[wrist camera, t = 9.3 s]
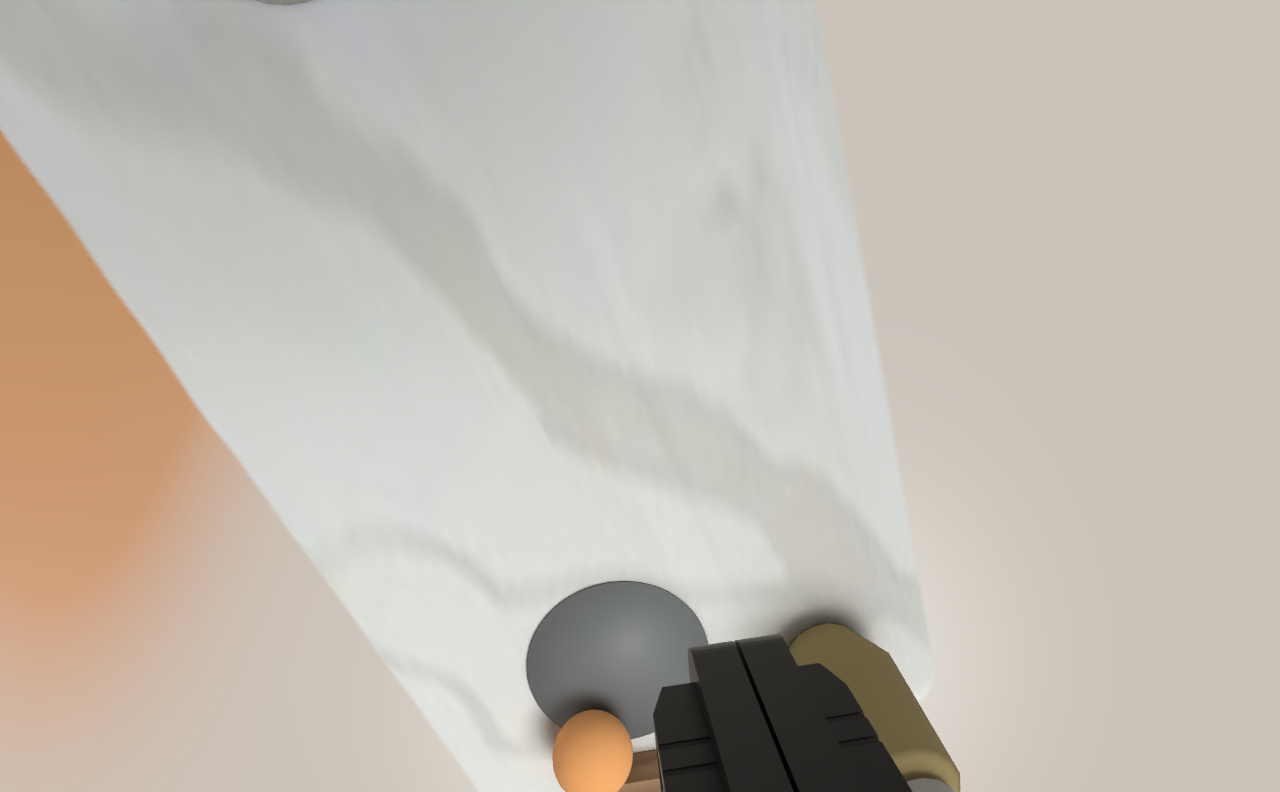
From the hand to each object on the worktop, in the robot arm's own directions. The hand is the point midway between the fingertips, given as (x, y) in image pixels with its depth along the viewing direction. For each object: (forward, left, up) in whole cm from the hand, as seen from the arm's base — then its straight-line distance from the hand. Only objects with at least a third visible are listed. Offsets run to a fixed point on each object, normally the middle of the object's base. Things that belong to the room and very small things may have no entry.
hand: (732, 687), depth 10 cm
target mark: (+22, -2, -29) cm, 36 cm away
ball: (+27, -4, -26) cm, 38 cm away
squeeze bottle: (+24, +13, -29) cm, 40 cm away
